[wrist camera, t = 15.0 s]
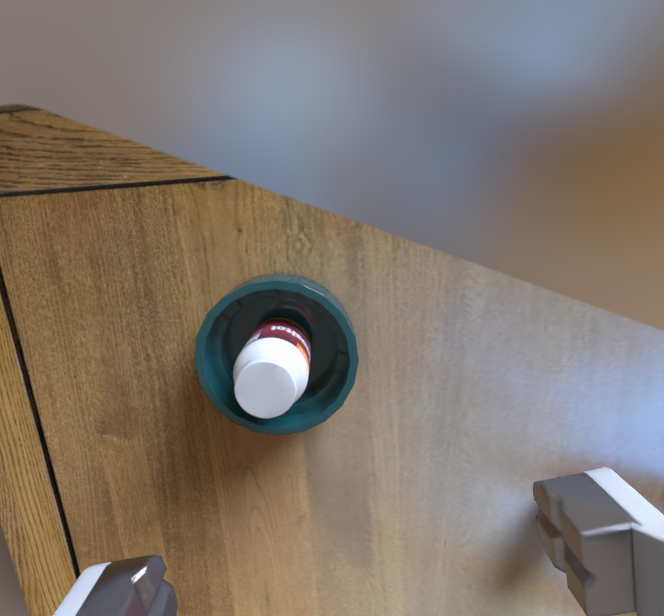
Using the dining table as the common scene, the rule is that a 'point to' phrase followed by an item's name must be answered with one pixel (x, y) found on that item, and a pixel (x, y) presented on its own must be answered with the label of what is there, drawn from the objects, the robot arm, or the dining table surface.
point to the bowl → (241, 321)
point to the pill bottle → (272, 368)
